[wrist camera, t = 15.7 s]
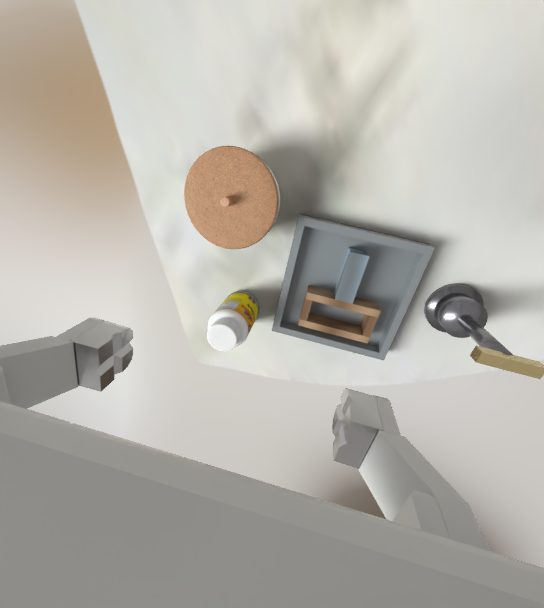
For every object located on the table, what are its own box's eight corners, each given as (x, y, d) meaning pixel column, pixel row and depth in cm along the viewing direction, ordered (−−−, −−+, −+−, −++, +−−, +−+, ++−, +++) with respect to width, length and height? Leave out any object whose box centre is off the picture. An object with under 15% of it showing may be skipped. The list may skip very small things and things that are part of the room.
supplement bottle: (260, 322, 45) (244, 358, 36) (227, 321, 46) (203, 356, 37) (259, 289, 43) (241, 319, 34) (224, 289, 44) (197, 317, 35)
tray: (300, 214, 38) (298, 216, 35) (427, 243, 36) (434, 247, 34) (274, 323, 45) (271, 330, 42) (380, 351, 44) (383, 360, 41)
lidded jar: (264, 135, 35) (244, 120, 26) (299, 217, 38) (292, 227, 29) (194, 177, 38) (157, 176, 30) (232, 249, 41) (208, 267, 33)
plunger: (416, 322, 41) (456, 383, 28) (437, 278, 38) (493, 324, 25) (465, 335, 40) (527, 403, 28) (490, 290, 37) (573, 344, 25)
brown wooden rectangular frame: (394, 258, 37) (400, 263, 34) (364, 333, 42) (367, 343, 39) (320, 240, 38) (320, 244, 35) (299, 316, 43) (298, 325, 40)
